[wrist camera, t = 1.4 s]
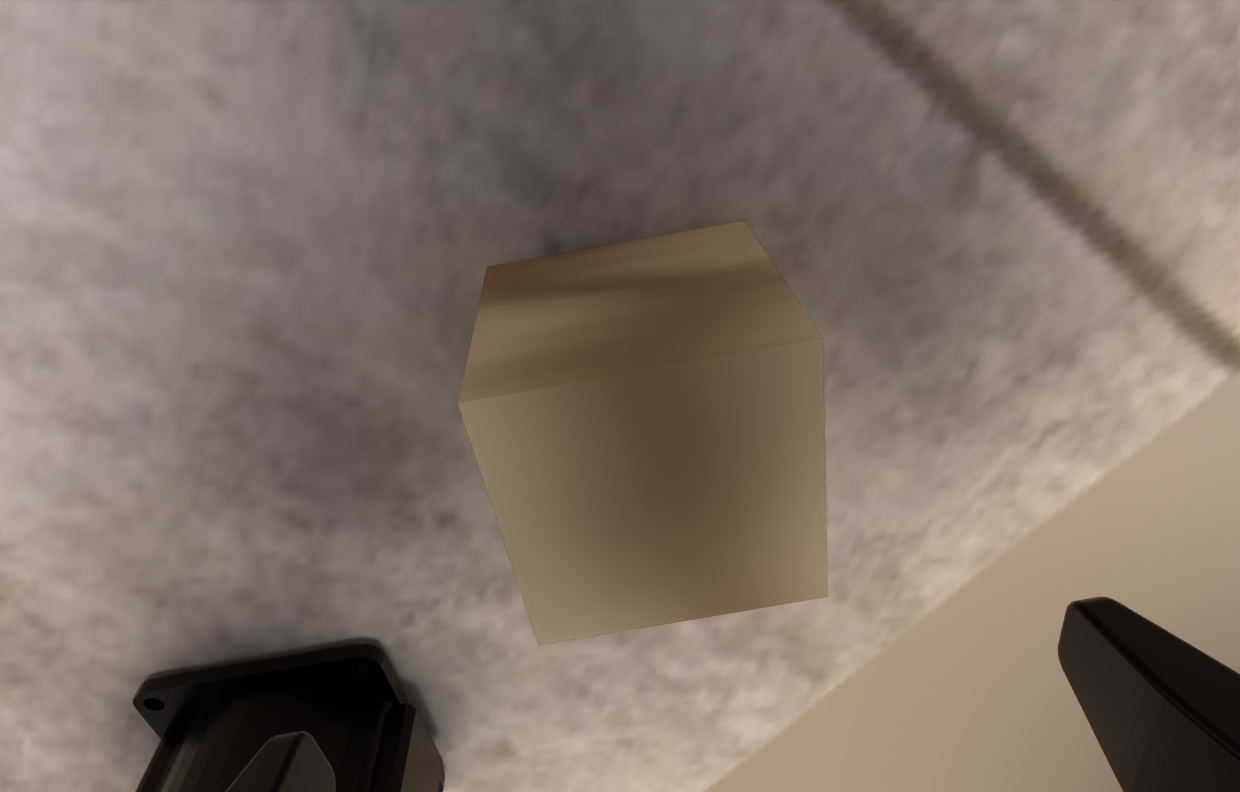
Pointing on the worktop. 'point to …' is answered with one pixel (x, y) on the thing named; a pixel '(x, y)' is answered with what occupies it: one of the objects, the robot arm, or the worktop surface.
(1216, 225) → the worktop surface
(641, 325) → the maple cube
